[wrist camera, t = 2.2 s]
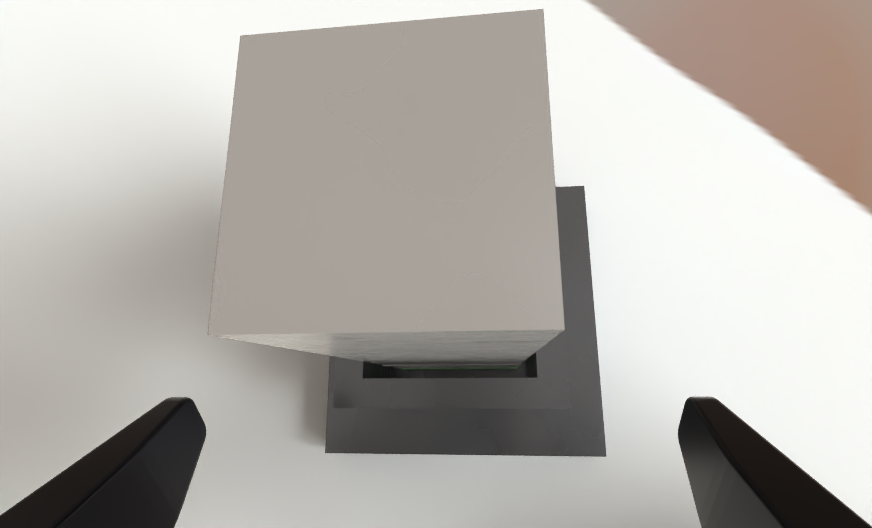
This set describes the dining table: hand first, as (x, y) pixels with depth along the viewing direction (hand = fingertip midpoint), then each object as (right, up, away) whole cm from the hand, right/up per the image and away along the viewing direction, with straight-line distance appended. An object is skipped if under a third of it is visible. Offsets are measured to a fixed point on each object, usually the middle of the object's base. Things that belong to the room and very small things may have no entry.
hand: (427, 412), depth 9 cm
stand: (+1, 0, +11) cm, 11 cm away
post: (+1, +1, +10) cm, 10 cm away
